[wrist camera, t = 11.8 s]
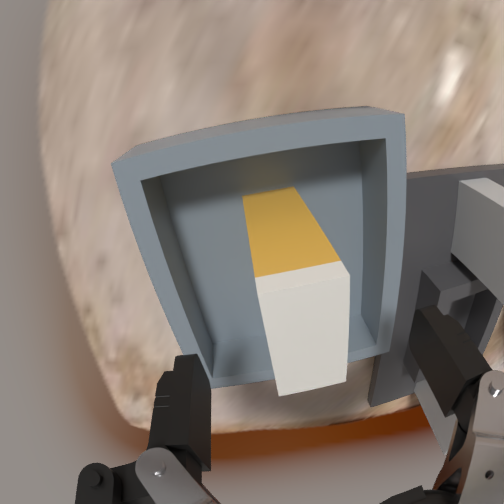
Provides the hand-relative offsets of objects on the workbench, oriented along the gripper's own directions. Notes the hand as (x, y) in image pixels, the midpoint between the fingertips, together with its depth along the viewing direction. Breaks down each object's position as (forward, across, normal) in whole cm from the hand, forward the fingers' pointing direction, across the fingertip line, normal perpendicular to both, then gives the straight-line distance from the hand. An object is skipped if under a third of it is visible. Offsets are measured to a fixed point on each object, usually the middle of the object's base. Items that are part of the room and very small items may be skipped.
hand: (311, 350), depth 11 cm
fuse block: (+8, -13, +8) cm, 17 cm away
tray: (+8, 0, 0) cm, 8 cm away
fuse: (+7, 0, -1) cm, 7 cm away
